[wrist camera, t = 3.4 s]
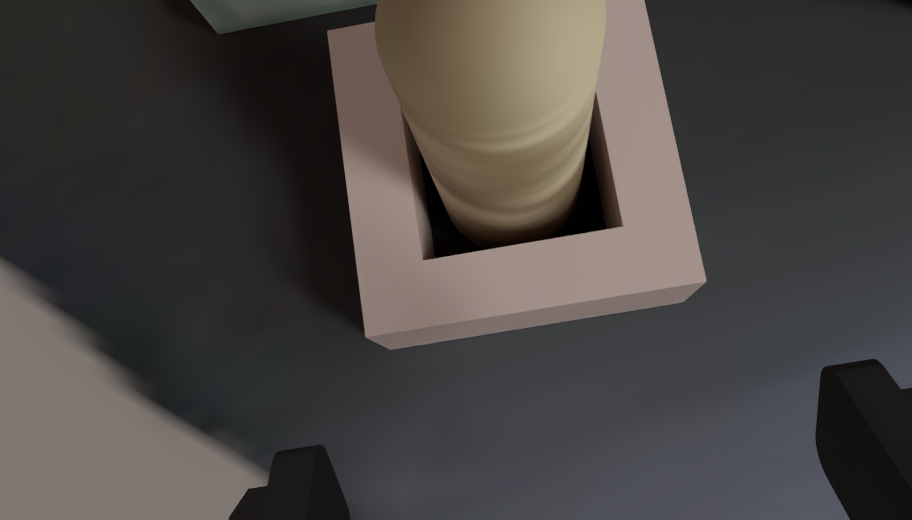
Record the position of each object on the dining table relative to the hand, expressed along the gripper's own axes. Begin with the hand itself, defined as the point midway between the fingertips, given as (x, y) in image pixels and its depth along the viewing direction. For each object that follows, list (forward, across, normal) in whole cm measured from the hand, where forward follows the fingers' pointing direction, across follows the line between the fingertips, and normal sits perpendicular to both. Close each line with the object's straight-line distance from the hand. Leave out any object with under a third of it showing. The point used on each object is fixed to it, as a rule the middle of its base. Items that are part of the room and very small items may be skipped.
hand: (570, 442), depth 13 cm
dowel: (+16, 0, +4) cm, 16 cm away
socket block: (+16, 0, +4) cm, 16 cm away
